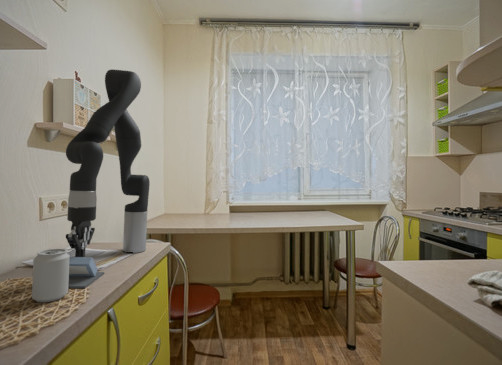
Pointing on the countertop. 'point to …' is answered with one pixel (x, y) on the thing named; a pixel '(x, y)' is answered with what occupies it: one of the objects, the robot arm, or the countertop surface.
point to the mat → (83, 281)
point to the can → (50, 275)
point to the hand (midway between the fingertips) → (79, 260)
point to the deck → (82, 267)
